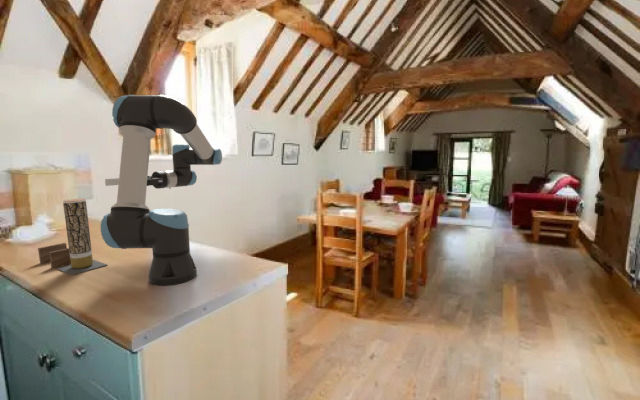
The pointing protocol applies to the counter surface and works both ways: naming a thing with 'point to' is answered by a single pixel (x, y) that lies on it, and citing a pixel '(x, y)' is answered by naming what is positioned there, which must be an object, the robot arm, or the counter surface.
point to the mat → (73, 271)
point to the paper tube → (78, 233)
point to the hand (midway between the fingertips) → (114, 183)
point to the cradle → (55, 255)
